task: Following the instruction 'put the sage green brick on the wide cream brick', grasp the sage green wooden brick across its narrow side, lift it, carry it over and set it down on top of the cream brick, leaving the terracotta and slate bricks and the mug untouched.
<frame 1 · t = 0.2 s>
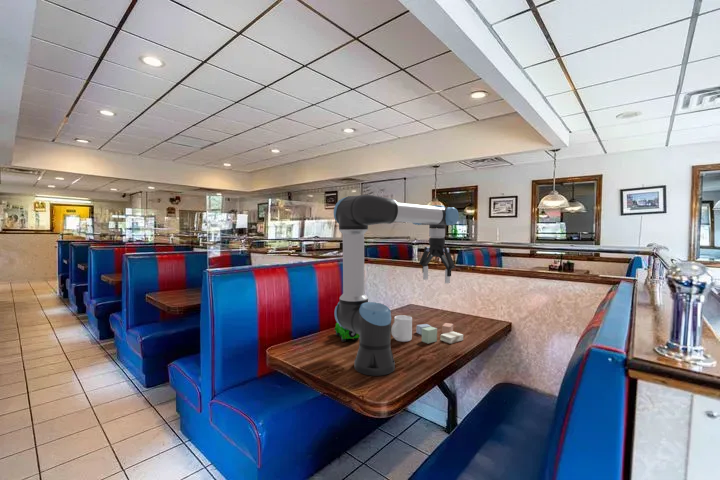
hand: (436, 281, 167), 27 cm above the table, fingers open, 13 cm apart
mug: (400, 340, 161), on the table
slate brick: (423, 333, 172), on the table
cream brick: (451, 340, 162), on the table
green brick: (429, 341, 160), on the table
toy car: (347, 338, 163), on the table
terracotta brick: (447, 332, 174), on the table
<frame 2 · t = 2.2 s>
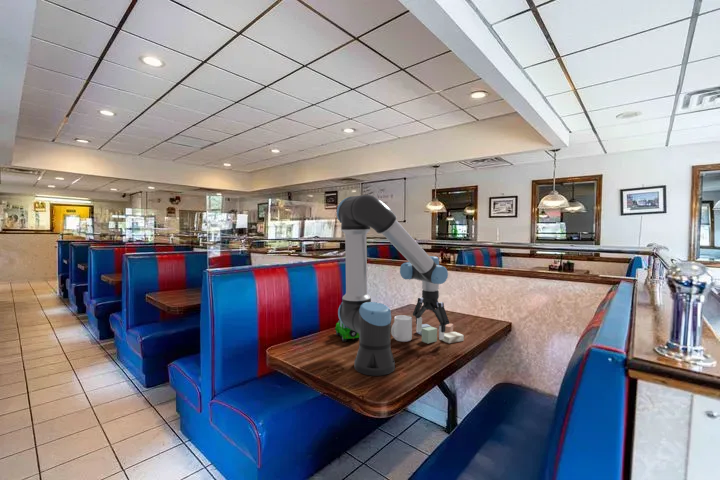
hand: (430, 335, 160), 3 cm above the table, fingers open, 13 cm apart
nothing on the table moved.
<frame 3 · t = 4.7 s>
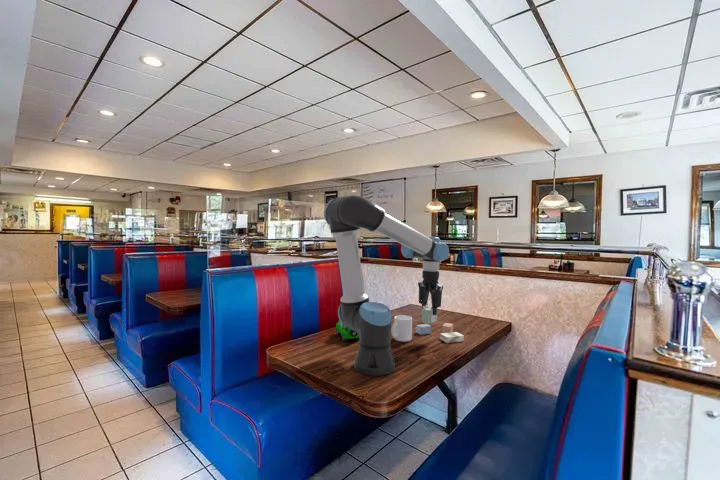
hand: (428, 320, 159), 10 cm above the table, fingers closed on green brick, 4 cm apart
green brick: (429, 321, 160), point 9 cm above the table, touching gripper
everything else where it was.
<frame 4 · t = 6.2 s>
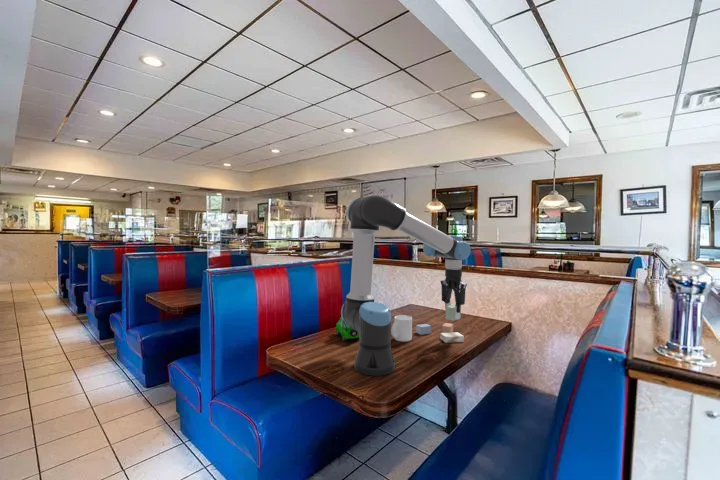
hand: (452, 318, 161), 10 cm above the table, fingers closed on green brick, 4 cm apart
green brick: (453, 318, 162), point 10 cm above the table, touching gripper
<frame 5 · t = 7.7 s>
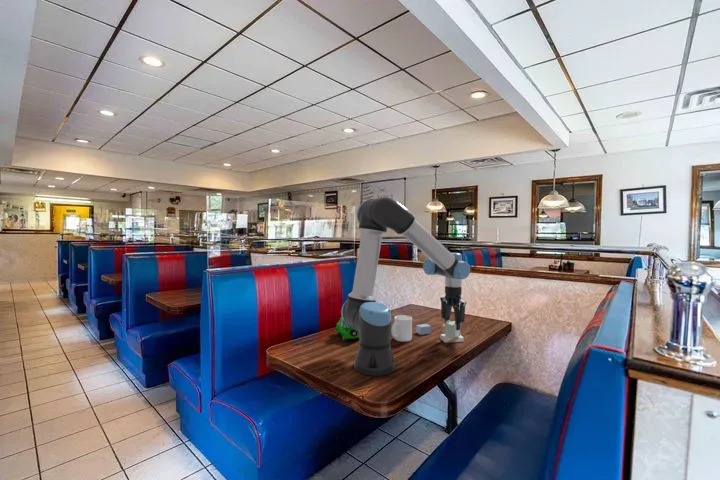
hand: (452, 335, 162), 2 cm above the table, fingers closed on green brick, 4 cm apart
cream brick: (451, 342, 162), on the table, touching green brick, gripper
green brick: (452, 335, 162), point 2 cm above the table, touching cream brick, gripper
everything else where it was.
when the fingers open (2 cm above the table, at t = 8.2 s): green brick stays where it is, resting on cream brick.
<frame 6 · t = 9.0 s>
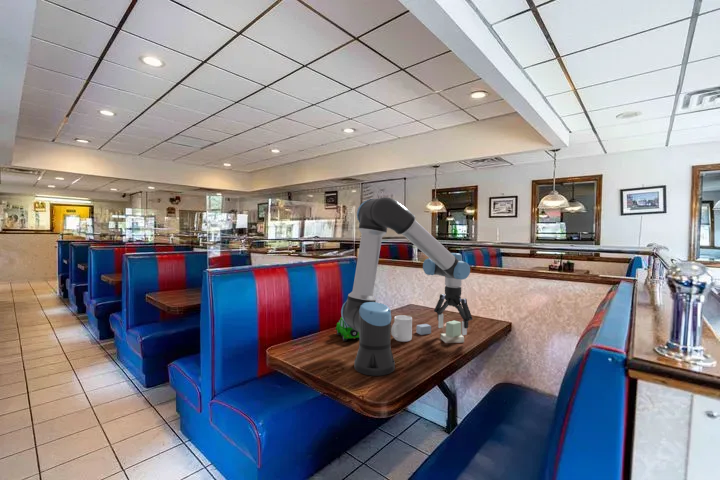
hand: (452, 331, 162), 4 cm above the table, fingers open, 13 cm apart
cream brick: (452, 341, 161), on the table, touching green brick
green brick: (453, 334, 162), point 2 cm above the table, touching cream brick
everything else where it was.
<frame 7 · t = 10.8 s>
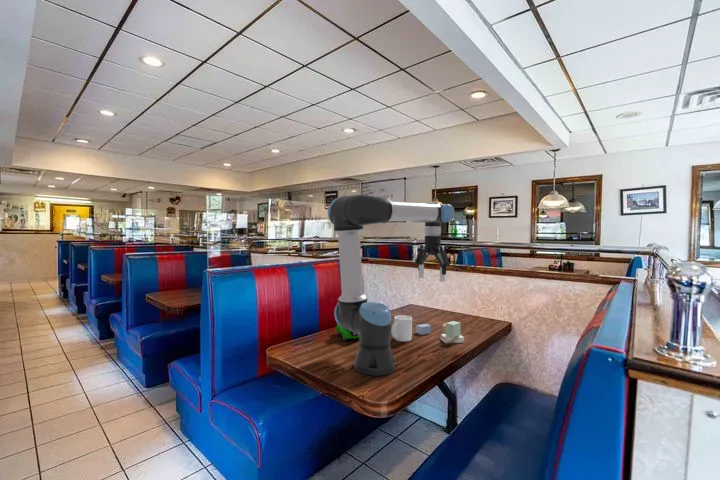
hand: (431, 279, 165), 28 cm above the table, fingers open, 13 cm apart
cream brick: (452, 341, 161), on the table
green brick: (453, 335, 161), point 2 cm above the table
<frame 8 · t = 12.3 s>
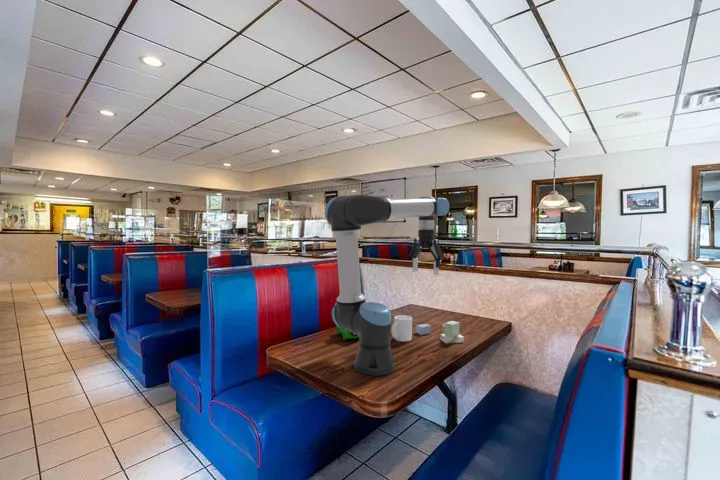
hand: (425, 273, 167), 31 cm above the table, fingers open, 13 cm apart
cream brick: (451, 341, 161), on the table, touching green brick
green brick: (451, 335, 161), point 2 cm above the table, touching cream brick
at the end: green brick inside the target area on the cream brick (0.0 cm from its centre), point 3.0 cm above the cream brick's base; terracotta brick moved 0.2 cm from its start; slate brick moved 0.2 cm from its start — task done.
